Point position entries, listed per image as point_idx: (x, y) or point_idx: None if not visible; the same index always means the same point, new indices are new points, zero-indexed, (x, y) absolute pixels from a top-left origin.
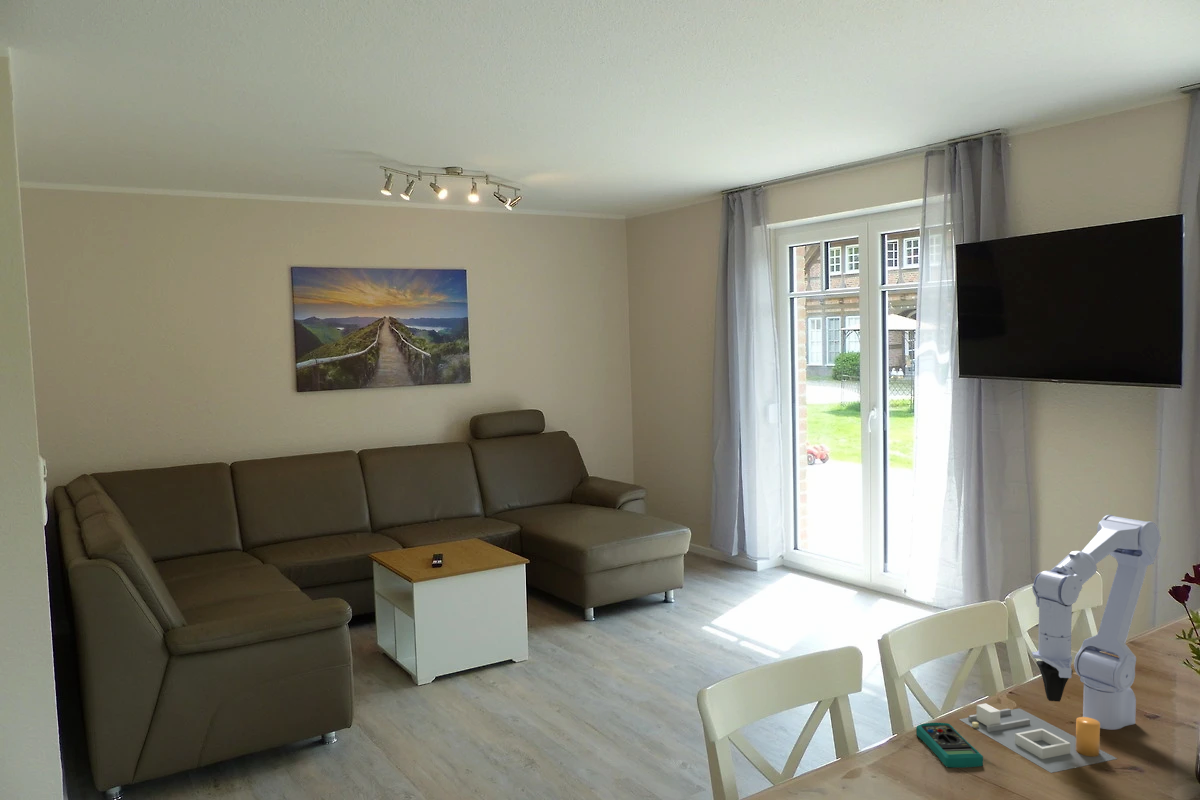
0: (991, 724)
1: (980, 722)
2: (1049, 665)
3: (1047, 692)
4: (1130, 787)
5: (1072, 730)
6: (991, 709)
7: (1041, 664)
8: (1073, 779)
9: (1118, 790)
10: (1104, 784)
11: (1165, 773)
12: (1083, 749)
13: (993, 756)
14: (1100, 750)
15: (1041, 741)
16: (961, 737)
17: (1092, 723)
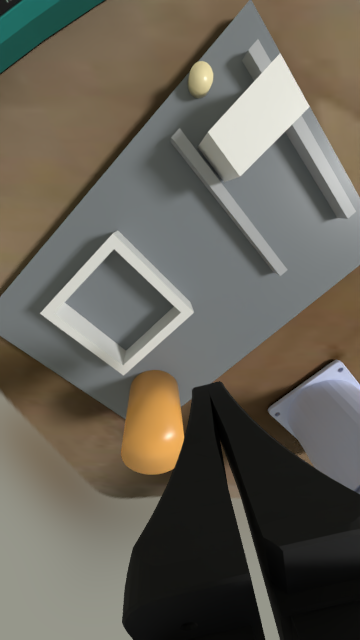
0: (202, 147)
1: None
2: (243, 625)
3: (192, 410)
4: (57, 438)
5: (290, 357)
6: (244, 135)
7: (251, 589)
8: (24, 357)
9: (30, 423)
10: (41, 405)
11: (149, 476)
12: (130, 391)
13: (34, 163)
14: None
15: (167, 300)
16: (20, 2)
17: (144, 461)
